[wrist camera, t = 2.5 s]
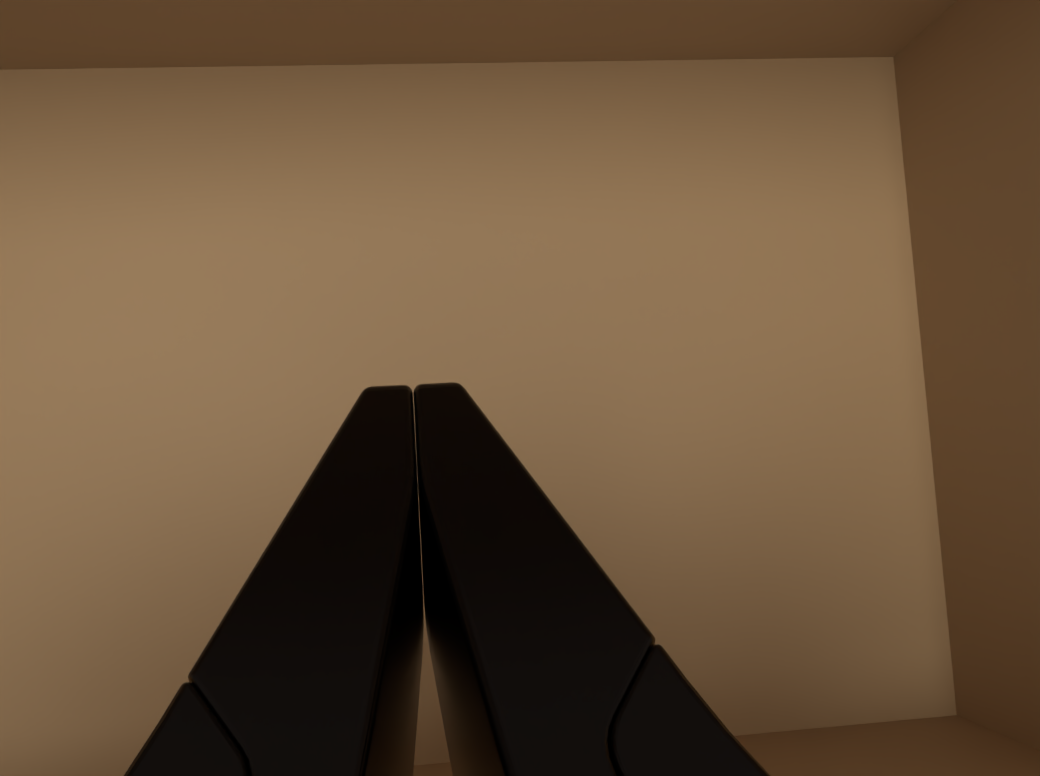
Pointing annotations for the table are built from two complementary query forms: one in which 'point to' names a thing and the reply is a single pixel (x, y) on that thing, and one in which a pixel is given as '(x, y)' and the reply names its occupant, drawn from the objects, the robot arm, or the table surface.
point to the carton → (538, 337)
